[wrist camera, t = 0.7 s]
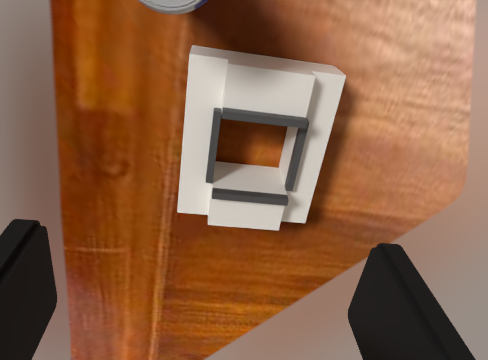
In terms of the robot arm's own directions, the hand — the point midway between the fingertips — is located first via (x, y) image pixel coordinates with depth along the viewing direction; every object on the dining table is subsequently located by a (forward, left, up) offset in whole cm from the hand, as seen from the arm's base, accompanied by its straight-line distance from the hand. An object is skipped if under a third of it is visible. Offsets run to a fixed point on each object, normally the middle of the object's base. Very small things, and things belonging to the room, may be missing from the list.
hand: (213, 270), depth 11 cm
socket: (+5, +4, -24) cm, 25 cm away
